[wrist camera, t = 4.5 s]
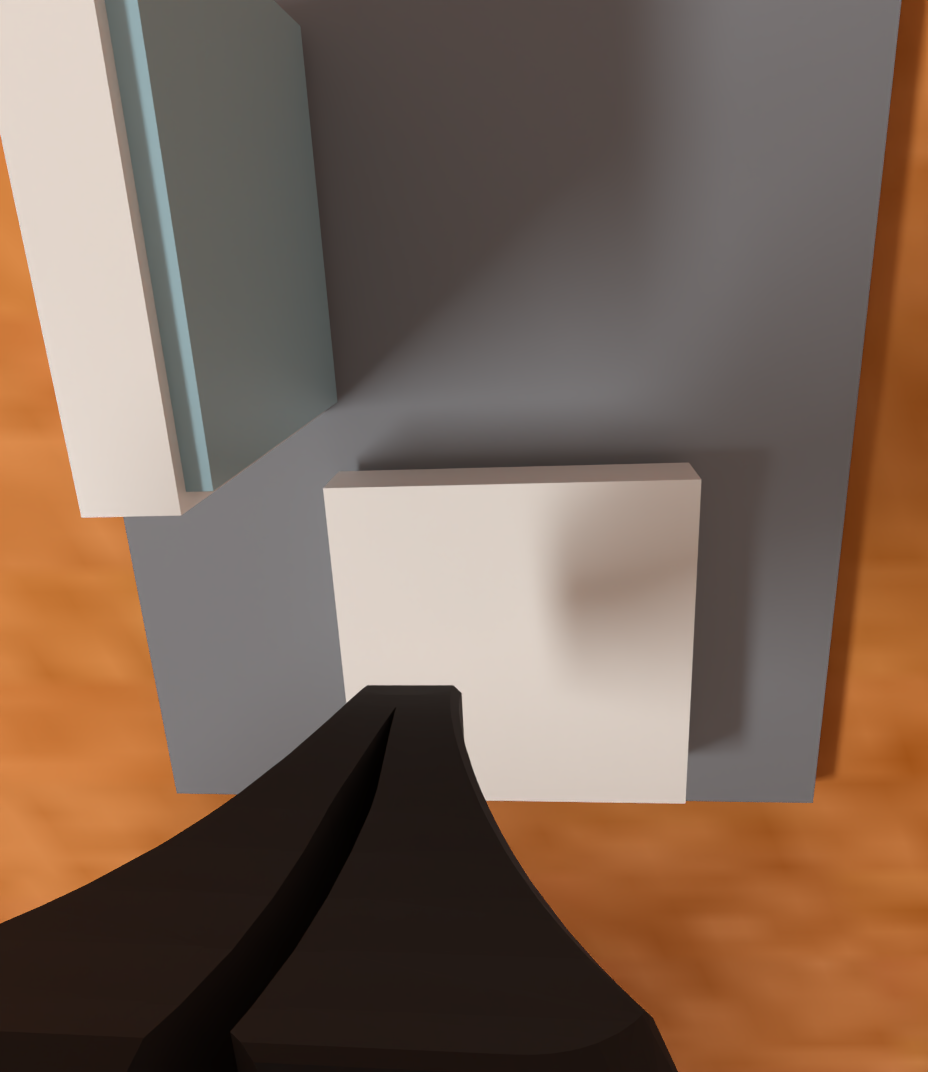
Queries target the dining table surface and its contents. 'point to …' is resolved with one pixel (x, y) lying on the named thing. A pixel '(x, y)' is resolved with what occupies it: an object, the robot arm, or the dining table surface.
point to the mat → (563, 338)
